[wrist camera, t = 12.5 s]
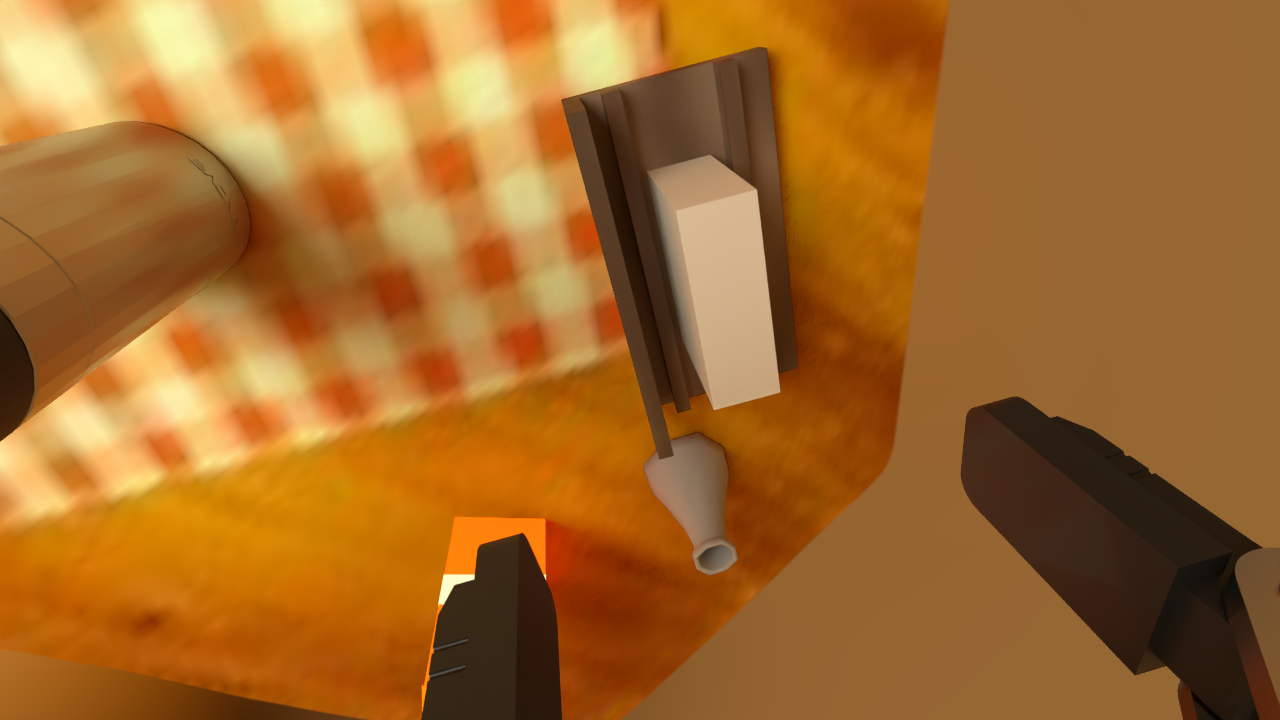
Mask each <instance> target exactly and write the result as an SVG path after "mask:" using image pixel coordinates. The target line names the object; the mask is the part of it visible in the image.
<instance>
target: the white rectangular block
mask: <svg viewBox="0 0 1280 720" xmlns="http://www.w3.org/2000/svg"><path fill="white" fill-rule="evenodd" d="M647 174H648V179H649V184H650V189H651V193H652V198H653V203H654V208H655V213H656V217H657V222H658V227H659V232H660V236H661V241H662V246H663V251H664V255H665V260H666V265H667V270H668V274H669V279H670V284H671V289H672V293H673V298H674V303H675V308H676V312H677V317H678V322H679V327H680V331H681V336H682V340H683V342H684V345H685V347H686V349H687V351H688V353H689V356H690V358H691V360H692V362H693V365H694V367H695V369H696V371H697V374H698V376H699V378H700V380H701V382H702V385H703V387H704V389H705V391H706V394H707V396H708V398H709V400H710V403H711V405H712V407H713V409H714V410H717V409H721V408H724V407H728V406H732V405H735V404H739V403H743V402H747V401H750V400H754V399H758V398H761V397H765V396H769V395H773V394H776V393H780V385H779V377H778V368H777V359H776V351H775V342H774V333H773V325H772V316H771V307H770V299H769V290H768V281H767V273H766V264H765V255H764V246H763V238H762V229H761V220H760V212H759V203H758V194H757V189H756V188H754V187H753V186H752V185H750V184H749V183H747V182H746V181H745V180H743V179H742V178H741V177H739V176H738V175H737V174H735V173H734V172H733V171H731V170H730V169H729V168H727V167H726V166H725V165H723V164H722V163H721V162H719V161H718V160H717V159H715V158H714V157H713V156H711V155H707V156H704V157H700V158H696V159H692V160H688V161H685V162H681V163H677V164H673V165H669V166H666V167H662V168H658V169H654V170H650V171H647Z"/></svg>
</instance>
